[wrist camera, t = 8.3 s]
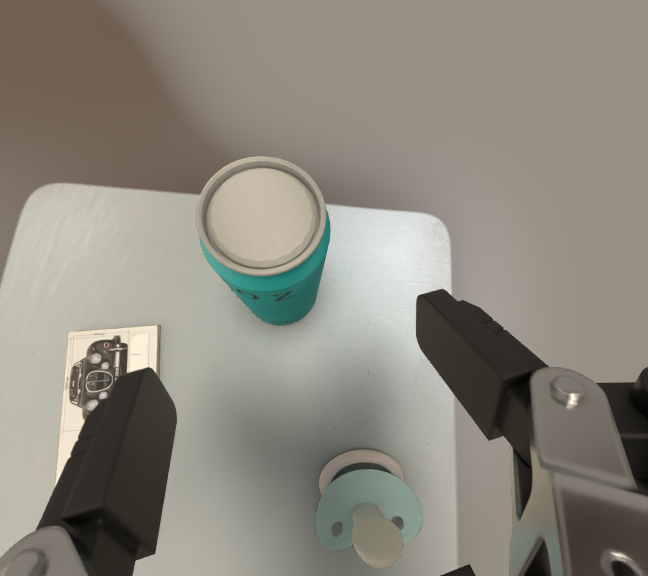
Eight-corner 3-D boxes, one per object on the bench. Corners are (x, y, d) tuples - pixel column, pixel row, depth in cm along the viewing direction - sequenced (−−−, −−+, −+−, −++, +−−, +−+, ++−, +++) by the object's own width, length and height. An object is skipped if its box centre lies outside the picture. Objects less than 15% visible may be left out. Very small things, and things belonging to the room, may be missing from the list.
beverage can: (256, 255, 28) (208, 137, 13) (321, 267, 28) (343, 163, 14) (241, 320, 27) (169, 267, 12) (309, 333, 27) (321, 294, 12)
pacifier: (311, 451, 25) (315, 542, 23) (315, 474, 19) (320, 600, 17) (404, 444, 25) (414, 532, 24) (436, 464, 19) (452, 585, 18)
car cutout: (154, 538, 23) (120, 580, 18) (53, 552, 22) (-8, 599, 18) (160, 325, 26) (131, 317, 22) (72, 332, 25) (24, 326, 21)
